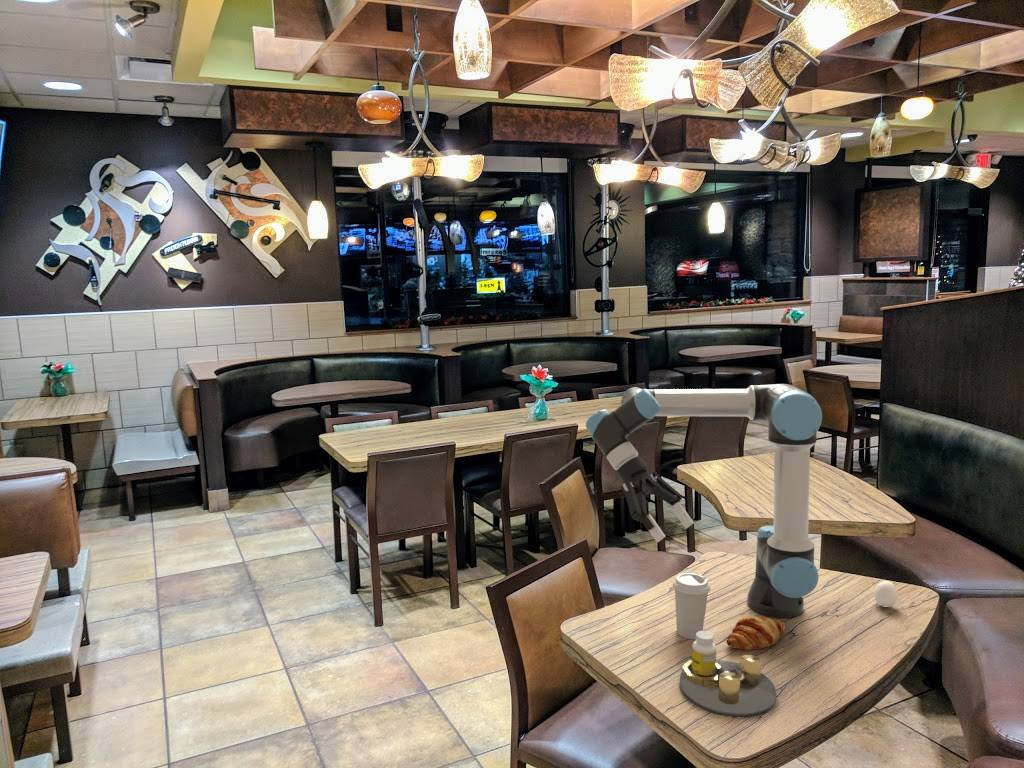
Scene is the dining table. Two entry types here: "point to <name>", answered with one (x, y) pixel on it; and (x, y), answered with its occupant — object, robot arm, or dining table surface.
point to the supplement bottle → (704, 655)
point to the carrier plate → (746, 695)
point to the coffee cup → (690, 603)
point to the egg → (886, 594)
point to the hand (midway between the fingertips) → (676, 532)
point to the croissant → (755, 633)
